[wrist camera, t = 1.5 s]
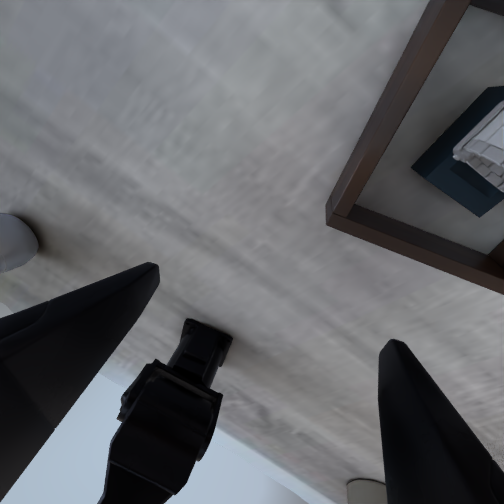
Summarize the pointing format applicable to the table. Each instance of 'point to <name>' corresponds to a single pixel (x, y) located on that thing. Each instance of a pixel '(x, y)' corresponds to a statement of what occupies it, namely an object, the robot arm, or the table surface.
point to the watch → (470, 155)
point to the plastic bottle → (15, 243)
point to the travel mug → (366, 492)
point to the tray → (376, 141)
